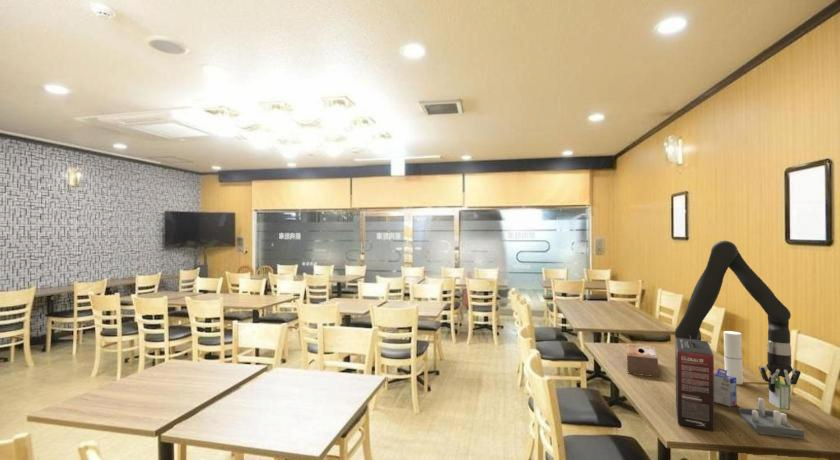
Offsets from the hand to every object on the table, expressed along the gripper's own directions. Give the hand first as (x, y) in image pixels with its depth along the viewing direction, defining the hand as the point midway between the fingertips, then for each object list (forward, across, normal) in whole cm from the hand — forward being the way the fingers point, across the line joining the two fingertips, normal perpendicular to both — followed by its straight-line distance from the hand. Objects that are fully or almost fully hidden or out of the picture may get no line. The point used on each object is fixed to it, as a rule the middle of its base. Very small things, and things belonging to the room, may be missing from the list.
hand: (779, 392), depth 170 cm
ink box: (+6, 0, 0) cm, 6 cm away
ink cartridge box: (+9, -19, +6) cm, 21 cm away
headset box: (+9, -35, -14) cm, 39 cm away
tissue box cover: (+10, -44, +48) cm, 65 cm away
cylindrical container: (+9, -4, +37) cm, 38 cm away
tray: (+9, -10, -15) cm, 20 cm away
